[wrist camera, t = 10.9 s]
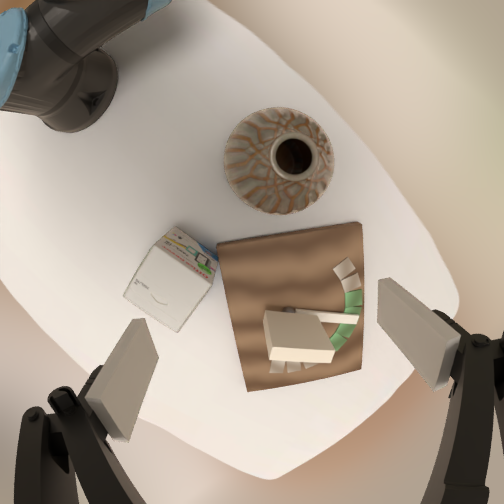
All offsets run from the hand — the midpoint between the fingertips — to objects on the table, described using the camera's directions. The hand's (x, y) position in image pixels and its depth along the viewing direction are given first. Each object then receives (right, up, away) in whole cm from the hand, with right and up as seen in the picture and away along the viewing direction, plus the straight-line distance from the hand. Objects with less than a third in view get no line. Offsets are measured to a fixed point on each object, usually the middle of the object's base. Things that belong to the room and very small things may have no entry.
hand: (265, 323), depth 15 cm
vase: (+2, +17, +26) cm, 31 cm away
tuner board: (+7, -6, +32) cm, 33 cm away
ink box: (-11, +2, +29) cm, 31 cm away
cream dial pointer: (+9, -6, +29) cm, 31 cm away
